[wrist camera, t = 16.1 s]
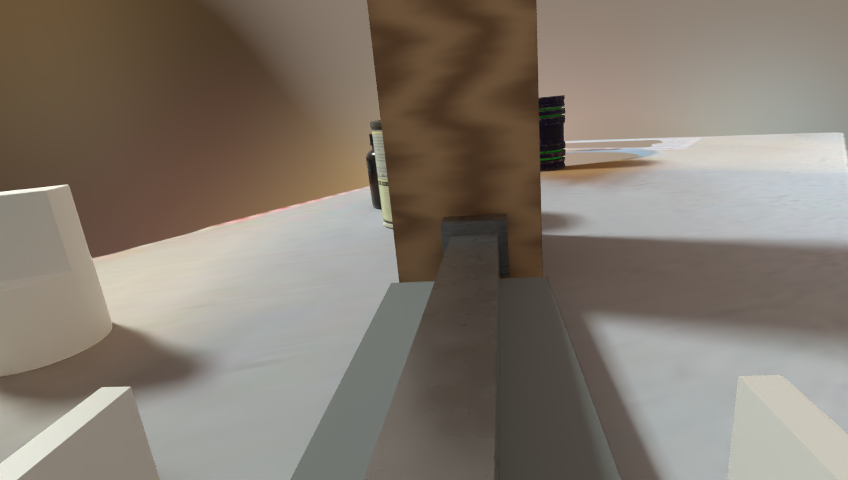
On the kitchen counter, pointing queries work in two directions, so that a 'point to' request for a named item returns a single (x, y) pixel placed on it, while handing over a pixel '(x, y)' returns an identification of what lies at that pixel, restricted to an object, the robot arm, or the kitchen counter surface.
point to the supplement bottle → (373, 176)
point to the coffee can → (382, 172)
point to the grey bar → (452, 366)
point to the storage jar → (551, 133)
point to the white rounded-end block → (46, 281)
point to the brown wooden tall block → (459, 123)
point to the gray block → (519, 392)
